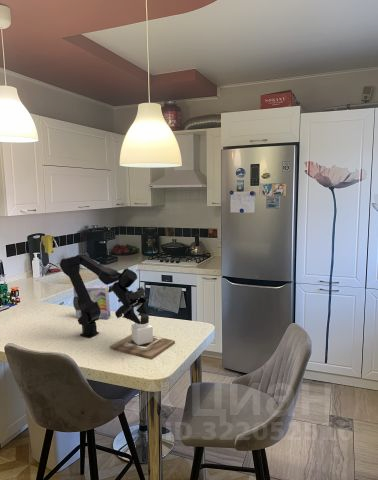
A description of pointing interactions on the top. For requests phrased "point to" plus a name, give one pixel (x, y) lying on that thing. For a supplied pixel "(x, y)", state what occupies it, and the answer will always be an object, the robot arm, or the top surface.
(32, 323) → the top surface
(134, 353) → the walnut stand
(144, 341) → the medicine bottle
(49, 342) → the top surface
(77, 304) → the cake pan box
